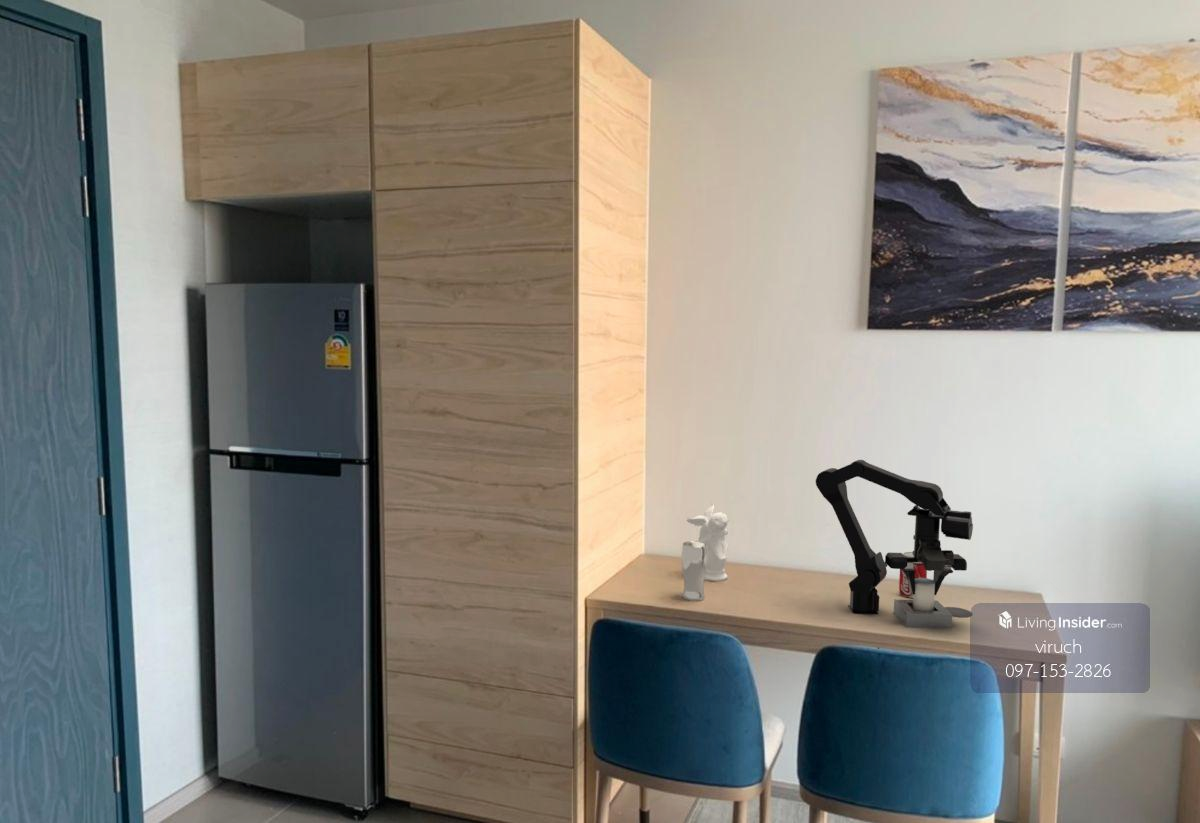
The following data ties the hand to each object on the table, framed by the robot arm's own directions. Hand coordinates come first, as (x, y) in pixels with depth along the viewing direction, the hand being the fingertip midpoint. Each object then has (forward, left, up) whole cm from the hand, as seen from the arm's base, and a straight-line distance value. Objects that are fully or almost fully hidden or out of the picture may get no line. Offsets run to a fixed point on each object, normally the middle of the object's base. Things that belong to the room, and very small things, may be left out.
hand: (923, 594), depth 220 cm
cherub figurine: (-52, +35, -8) cm, 63 cm away
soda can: (+4, +21, -8) cm, 23 cm away
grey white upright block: (-57, +15, -8) cm, 60 cm away
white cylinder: (0, 0, -4) cm, 4 cm away
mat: (+11, +7, -7) cm, 15 cm away
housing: (0, 0, -7) cm, 7 cm away
